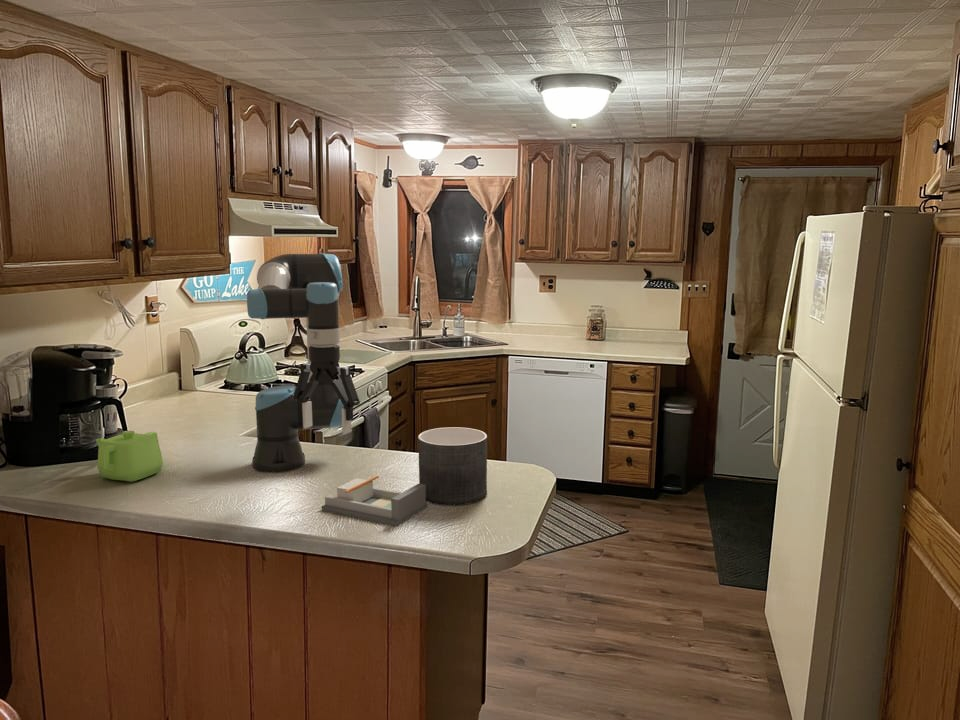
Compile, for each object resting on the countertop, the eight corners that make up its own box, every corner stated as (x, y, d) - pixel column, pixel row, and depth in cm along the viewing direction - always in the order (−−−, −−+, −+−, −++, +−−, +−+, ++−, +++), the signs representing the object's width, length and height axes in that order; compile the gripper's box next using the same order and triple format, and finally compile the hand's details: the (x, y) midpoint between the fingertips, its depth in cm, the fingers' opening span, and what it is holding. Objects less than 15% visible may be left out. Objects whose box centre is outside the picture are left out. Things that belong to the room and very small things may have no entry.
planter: (437, 479, 201) (436, 424, 199) (497, 487, 195) (497, 431, 192) (406, 500, 185) (405, 440, 183) (470, 510, 178) (470, 448, 176)
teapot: (71, 482, 199) (66, 436, 197) (129, 462, 218) (125, 420, 215) (123, 490, 193) (119, 443, 191) (177, 468, 211) (174, 425, 209)
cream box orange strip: (327, 505, 178) (327, 487, 177) (359, 489, 189) (359, 472, 188) (347, 509, 175) (347, 491, 174) (379, 493, 186) (378, 476, 186)
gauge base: (321, 510, 178) (321, 486, 177) (356, 492, 191) (355, 470, 190) (396, 526, 168) (396, 501, 167) (427, 506, 181) (427, 483, 180)
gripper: (276, 343, 182) (280, 427, 185) (354, 350, 171) (356, 439, 175) (296, 340, 188) (300, 421, 192) (372, 346, 178) (374, 432, 181)
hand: (327, 430), depth 183 cm, fingers open, 12 cm apart
